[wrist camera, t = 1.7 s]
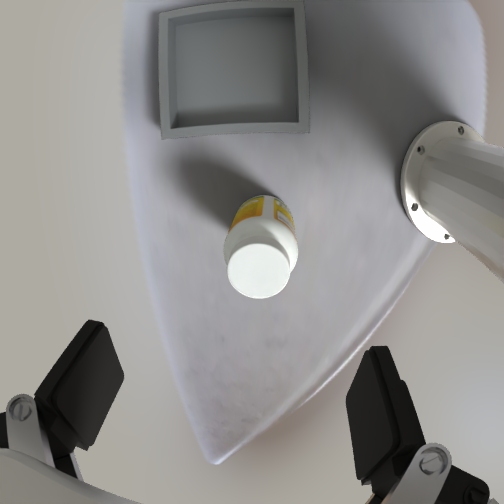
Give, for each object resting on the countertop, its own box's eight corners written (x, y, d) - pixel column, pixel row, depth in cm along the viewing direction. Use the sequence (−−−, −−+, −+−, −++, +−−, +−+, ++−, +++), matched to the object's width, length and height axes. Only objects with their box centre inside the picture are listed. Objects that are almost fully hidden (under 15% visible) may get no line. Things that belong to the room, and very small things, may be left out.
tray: (300, 13, 18) (303, 0, 15) (305, 132, 23) (309, 133, 20) (170, 22, 19) (159, 13, 16) (173, 137, 24) (161, 139, 21)
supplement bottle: (298, 200, 26) (312, 243, 17) (285, 253, 28) (290, 313, 19) (239, 188, 25) (223, 224, 17) (230, 242, 28) (211, 299, 19)
